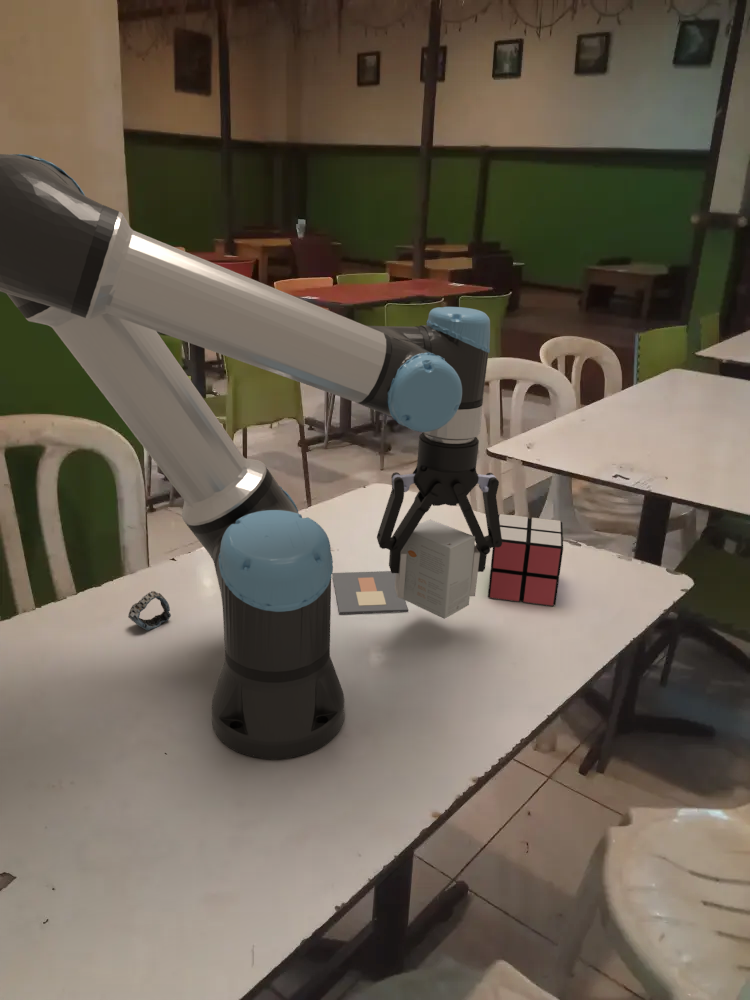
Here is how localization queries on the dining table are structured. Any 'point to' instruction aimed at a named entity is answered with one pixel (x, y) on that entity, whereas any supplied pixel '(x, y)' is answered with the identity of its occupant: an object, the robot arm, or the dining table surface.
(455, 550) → the small box
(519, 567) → the puzzle cube
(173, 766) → the dining table surface
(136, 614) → the wristwatch
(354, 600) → the card
